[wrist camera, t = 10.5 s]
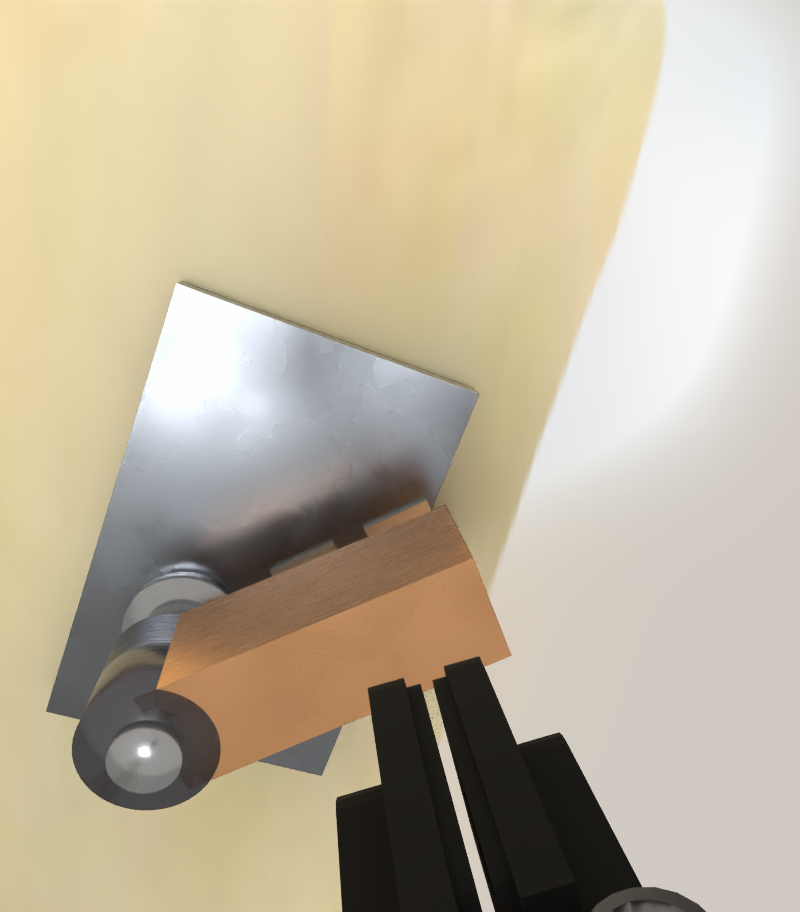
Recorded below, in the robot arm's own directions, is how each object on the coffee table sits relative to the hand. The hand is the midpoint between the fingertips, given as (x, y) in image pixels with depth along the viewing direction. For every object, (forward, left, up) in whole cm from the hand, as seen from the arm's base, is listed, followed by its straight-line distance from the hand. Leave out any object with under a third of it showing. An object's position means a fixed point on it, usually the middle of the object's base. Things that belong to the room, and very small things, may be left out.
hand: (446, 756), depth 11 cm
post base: (-8, +2, -23) cm, 24 cm away
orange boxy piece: (-8, 0, -18) cm, 20 cm away
